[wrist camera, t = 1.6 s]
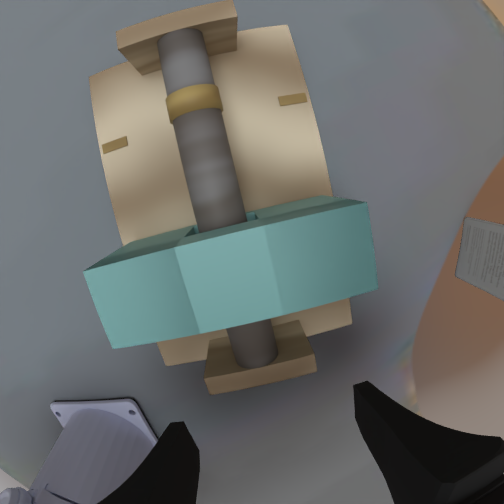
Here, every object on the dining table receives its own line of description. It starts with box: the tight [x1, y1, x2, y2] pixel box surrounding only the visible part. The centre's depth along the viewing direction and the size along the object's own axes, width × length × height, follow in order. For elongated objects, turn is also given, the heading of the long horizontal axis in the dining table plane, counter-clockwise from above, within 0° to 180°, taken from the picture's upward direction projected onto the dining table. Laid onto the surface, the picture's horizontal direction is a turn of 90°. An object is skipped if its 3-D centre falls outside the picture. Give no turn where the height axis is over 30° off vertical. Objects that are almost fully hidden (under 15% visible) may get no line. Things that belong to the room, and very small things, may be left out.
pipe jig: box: [89, 0, 352, 395], centre depth 13 cm, size 17×11×5 cm, turn 13°
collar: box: [83, 195, 378, 349], centre depth 12 cm, size 3×10×5 cm, turn 103°
